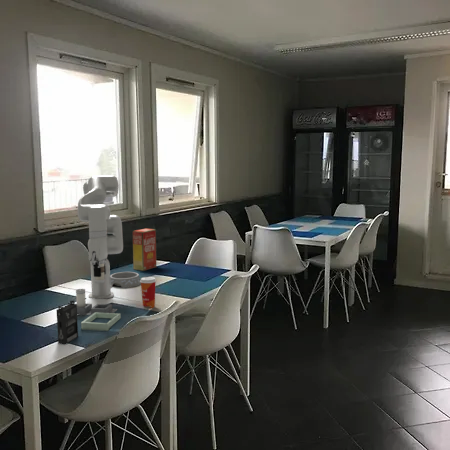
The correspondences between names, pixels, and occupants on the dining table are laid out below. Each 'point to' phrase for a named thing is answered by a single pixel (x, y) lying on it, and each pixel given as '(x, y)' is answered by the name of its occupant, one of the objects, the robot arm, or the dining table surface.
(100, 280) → the fuse
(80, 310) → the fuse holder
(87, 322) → the parts tray
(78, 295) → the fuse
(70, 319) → the geiger counter
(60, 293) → the dining table surface
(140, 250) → the food packaging
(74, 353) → the dining table surface
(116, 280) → the dog bowl
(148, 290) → the paper cup
